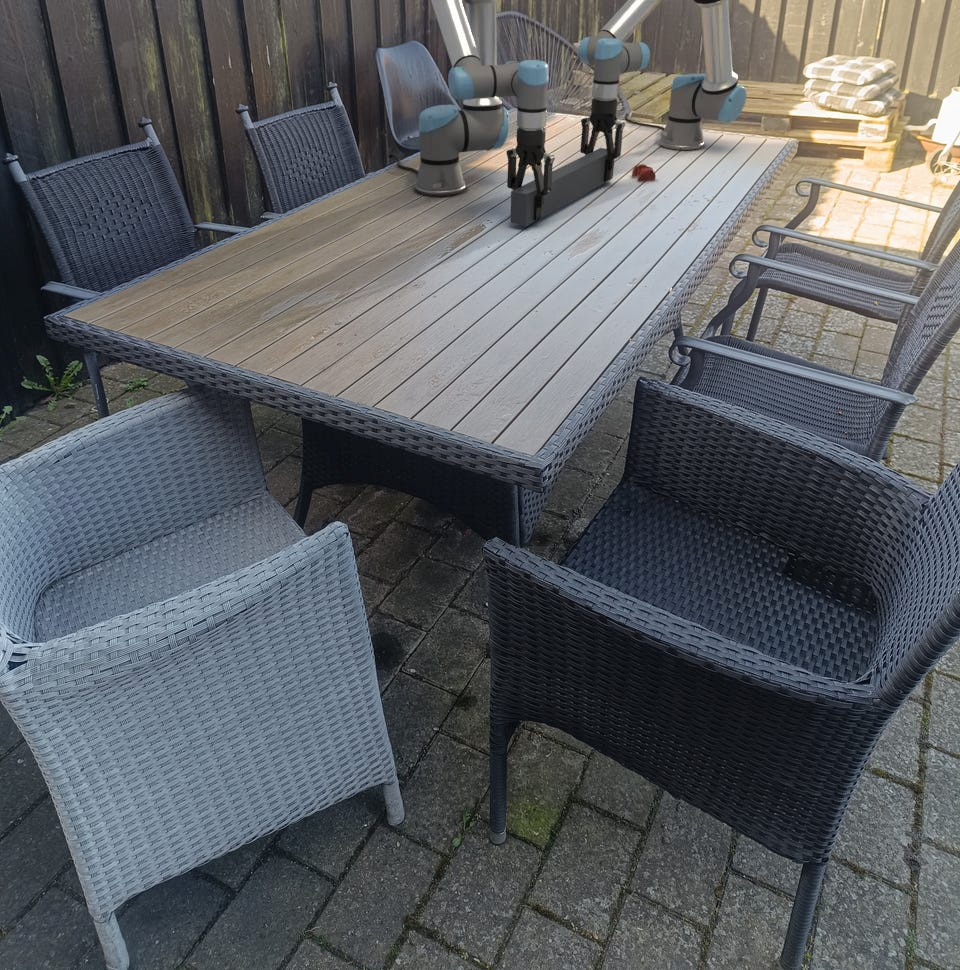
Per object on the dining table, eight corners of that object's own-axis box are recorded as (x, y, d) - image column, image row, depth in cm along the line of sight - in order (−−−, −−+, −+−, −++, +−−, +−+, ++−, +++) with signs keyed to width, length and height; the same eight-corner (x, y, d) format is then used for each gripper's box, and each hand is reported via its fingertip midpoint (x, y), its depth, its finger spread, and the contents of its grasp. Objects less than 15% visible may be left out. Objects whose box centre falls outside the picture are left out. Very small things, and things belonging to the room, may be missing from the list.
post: (526, 226, 227) (527, 194, 222) (510, 222, 229) (510, 191, 224) (612, 178, 264) (615, 150, 259) (598, 176, 266) (600, 147, 261)
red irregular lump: (647, 160, 269) (657, 167, 263) (646, 174, 272) (656, 181, 265) (631, 162, 268) (641, 169, 262) (630, 176, 271) (640, 183, 264)
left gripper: (569, 129, 216) (563, 219, 230) (508, 120, 224) (507, 207, 238) (555, 135, 211) (550, 226, 225) (494, 125, 219) (493, 215, 233)
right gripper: (638, 99, 246) (630, 180, 259) (583, 92, 254) (577, 171, 267) (627, 104, 241) (619, 186, 254) (571, 97, 249) (566, 177, 262)
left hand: (528, 216), depth 231 cm, fingers closed on post, 5 cm apart
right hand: (598, 179), depth 261 cm, fingers closed on post, 5 cm apart
